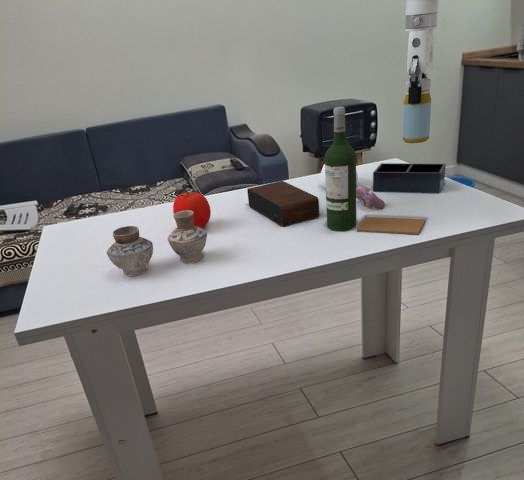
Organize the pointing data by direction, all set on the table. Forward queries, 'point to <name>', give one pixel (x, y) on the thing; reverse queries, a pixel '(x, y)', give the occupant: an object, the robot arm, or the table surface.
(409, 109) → the bottle
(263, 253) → the table surface
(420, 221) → the cork mat
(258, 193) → the brown box
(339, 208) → the wine bottle
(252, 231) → the table surface
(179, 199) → the tomato
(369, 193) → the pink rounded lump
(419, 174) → the divided storage box
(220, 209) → the table surface
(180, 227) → the pottery
